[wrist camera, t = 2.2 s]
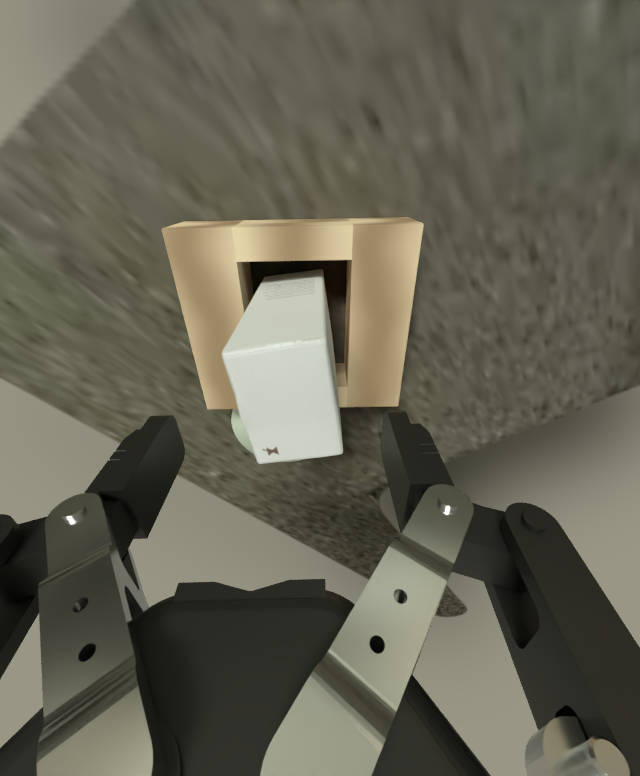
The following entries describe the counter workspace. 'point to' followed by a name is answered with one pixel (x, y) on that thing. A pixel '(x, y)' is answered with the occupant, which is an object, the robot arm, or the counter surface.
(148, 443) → the robot arm
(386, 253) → the pocket block
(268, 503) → the counter surface
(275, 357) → the skincare box
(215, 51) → the counter surface
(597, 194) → the counter surface
